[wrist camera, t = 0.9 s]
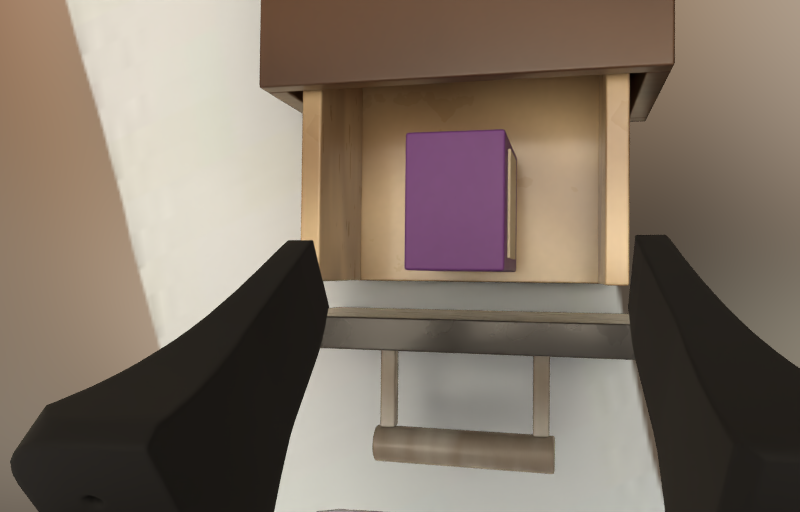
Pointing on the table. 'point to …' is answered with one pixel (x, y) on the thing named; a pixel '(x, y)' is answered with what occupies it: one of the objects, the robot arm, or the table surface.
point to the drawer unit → (463, 43)
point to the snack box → (460, 201)
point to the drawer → (468, 329)
